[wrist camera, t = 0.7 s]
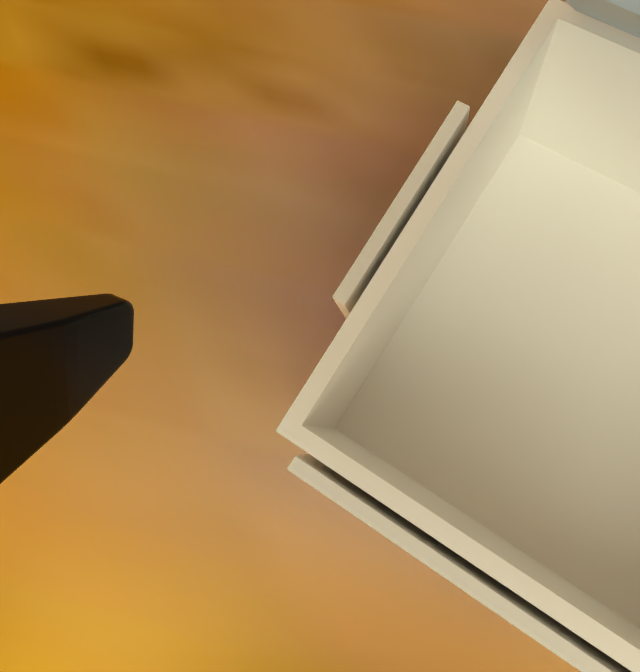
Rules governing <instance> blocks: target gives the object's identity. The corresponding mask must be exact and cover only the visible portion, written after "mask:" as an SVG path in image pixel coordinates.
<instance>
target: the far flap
mask: <svg viewBox="0 0 640 672" xmlns="http://www.w3.org/2000/svg"><path fill="white" fill-rule="evenodd" d="M565 1H566V2H567V3H568V4H569V5H570V6H571V7H572V8H573V9H574V10H575V11H578V12H580V13H582V14H585V15H587V16H589V17H592V18H594V19H596V20H599V21H601V22H603V23H606V24H608V25H610V26H613V27H615V28H617V29H620V30H622V31H624V32H627V33H629V34H631V35H634V36H636V37H638V38H640V0H565Z"/></svg>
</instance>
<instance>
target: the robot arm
mask: <svg viewBox="0 0 640 672" xmlns="http://www.w3.org/2000/svg"><path fill="white" fill-rule="evenodd" d="M133 323H134V309H133V306H132V304H131V303H130V302H129V301H127V300H124V299H122V298H120V297H117V296H115V295H112V294H98V295H88V296H78V297H68V298H58V299H47V300H37V301H27V302H17V303H7V304H0V484H1V483H2V482H3V481H4V480H5V479H6V478H7V477H8V476H10V475H11V474H12V473H13V472H14V471H15V470H16V469H17V468H19V467H20V466H21V465H22V464H23V463H24V462H25V461H26V460H28V459H29V458H30V457H31V456H32V455H33V454H34V453H35V452H36V451H38V450H39V449H40V448H41V447H42V446H43V445H44V444H45V443H47V442H48V441H49V440H50V439H51V438H52V437H53V436H54V435H55V434H57V433H58V432H59V431H60V430H61V429H62V428H63V427H64V426H65V425H66V424H67V423H68V422H69V421H70V420H71V419H72V418H73V417H74V416H75V415H76V414H77V413H78V412H79V411H80V410H81V409H82V408H83V407H84V406H85V404H86V403H87V402H88V401H89V400H90V399H91V398H92V397H93V396H94V395H95V393H96V392H97V391H98V390H99V389H100V388H101V387H102V386H103V385H104V384H105V382H106V381H107V380H108V379H109V378H110V377H111V376H112V375H113V374H114V373H115V371H116V370H117V369H118V368H119V367H120V366H121V365H122V364H123V363H124V362H125V361H126V359H127V358H128V356H129V355H130V353H131V350H132V346H133Z"/></svg>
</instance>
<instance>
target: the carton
mask: <svg viewBox="0 0 640 672" xmlns="http://www.w3.org/2000/svg"><path fill="white" fill-rule="evenodd" d="M469 112H470V106H468V105H466V104H464V103H462V102H460V101H458V100H457V102H456V103H455V105H454V106H453V108H452V109H451V111H450V113H449V114H448V116H447V117H446V119H445V120H444V122H443V124H442V125H441V127H440V128H439V130H438V131H437V133H436V135H435V136H434V138H433V139H432V141H431V142H430V144H429V146H428V147H427V149H426V150H425V152H424V153H423V155H422V157H421V158H420V160H419V161H418V163H417V164H416V166H415V168H414V169H413V171H412V172H411V174H410V175H409V177H408V179H407V180H406V182H405V183H404V185H403V186H402V188H401V190H400V191H399V193H398V194H397V196H396V197H395V199H394V201H393V202H392V204H391V205H390V207H389V208H388V210H387V212H386V213H385V215H384V216H383V218H382V219H381V221H380V223H379V224H378V226H377V227H376V229H375V230H374V232H373V234H372V235H371V237H370V238H369V240H368V241H367V243H366V245H365V246H364V248H363V249H362V251H361V252H360V254H359V256H358V257H357V259H356V260H355V262H354V263H353V265H352V267H351V268H350V270H349V271H348V273H347V274H346V276H345V278H344V279H343V281H342V282H341V284H340V285H339V287H338V289H337V290H336V292H335V293H334V295H333V296H332V298H333V299H334V301H335V302H336V304H337V306H338V307H339V309H340V310H341V312H342V313H343V315H344V317H345V318H346V320H345V322H344V323H343V325H342V327H341V328H340V330H339V331H338V333H337V334H336V336H335V338H334V339H333V341H332V342H331V344H330V346H329V347H328V349H327V350H326V352H325V353H324V355H323V357H322V358H321V360H320V361H319V363H318V364H317V366H316V368H315V369H314V371H313V372H312V374H311V375H310V377H309V379H308V380H307V382H306V383H305V385H304V387H303V388H302V390H301V391H300V393H299V394H298V396H297V398H296V399H295V401H294V402H293V404H292V405H291V407H290V409H289V410H288V412H287V413H286V415H285V416H284V418H283V420H282V421H281V423H280V424H279V426H278V428H277V429H276V432H277V433H279V434H280V435H282V436H283V437H285V438H286V439H288V440H289V441H291V442H292V443H294V444H295V445H297V446H298V447H300V448H301V449H303V450H304V451H306V452H307V453H309V454H305V455H299V456H295V457H294V459H293V460H292V462H291V464H290V465H289V467H288V468H287V470H289V471H290V472H291V473H293V474H294V475H296V476H297V477H299V478H300V479H302V480H303V481H305V482H306V483H307V484H309V485H310V486H312V487H313V488H315V489H316V490H318V491H319V492H321V493H322V494H323V495H325V496H326V497H328V498H329V499H331V500H332V501H334V502H335V503H336V504H338V505H339V506H341V507H342V508H344V509H345V510H347V511H348V512H350V513H351V514H352V515H354V516H355V517H357V518H358V519H360V520H361V521H363V522H364V523H366V524H367V525H368V526H370V527H371V528H373V529H374V530H376V531H377V532H379V533H380V534H382V535H383V536H384V537H386V538H387V539H389V540H390V541H392V542H393V543H395V544H396V545H398V546H399V547H400V548H402V549H403V550H405V551H406V552H408V553H409V554H411V555H412V556H413V557H415V558H416V559H418V560H419V561H421V562H422V563H424V564H425V565H427V566H428V567H429V568H431V569H432V570H434V571H435V572H437V573H438V574H440V575H441V576H443V577H444V578H445V579H447V580H448V581H450V582H451V583H453V584H454V585H456V586H457V587H459V588H460V589H461V590H463V591H464V592H466V593H467V594H469V595H470V596H472V597H473V598H474V599H476V600H477V601H479V602H480V603H482V604H483V605H485V606H486V607H488V608H489V609H490V610H492V611H493V612H495V613H496V614H498V615H499V616H501V617H502V618H504V619H505V620H506V621H508V622H509V623H511V624H512V625H514V626H515V627H517V628H518V629H520V630H521V631H522V632H524V633H525V634H527V635H528V636H530V637H531V638H533V639H534V640H536V641H537V642H538V643H540V644H541V645H543V646H544V647H546V648H547V649H549V650H550V651H551V652H553V653H554V654H556V655H557V656H559V657H560V658H562V659H563V660H565V661H566V662H567V663H569V664H570V665H572V666H573V667H575V668H576V669H578V670H579V671H581V672H640V38H638V37H636V36H634V35H631V34H629V33H627V32H624V31H622V30H620V29H617V28H615V27H613V26H610V25H608V24H606V23H603V22H601V21H599V20H596V19H594V18H592V17H589V16H587V15H585V14H582V13H580V12H578V11H575V10H574V9H573V8H572V7H571V6H570V5H569V4H568V3H566V2H563V1H561V0H548V2H547V3H546V5H545V6H544V8H543V10H542V11H541V13H540V14H539V16H538V17H537V19H536V21H535V22H534V24H533V25H532V27H531V28H530V30H529V32H528V33H527V35H526V36H525V38H524V40H523V41H522V43H521V44H520V46H519V47H518V49H517V51H516V52H515V54H514V55H513V57H512V58H511V60H510V62H509V63H508V65H507V66H506V68H505V69H504V71H503V73H502V74H501V76H500V77H499V79H498V81H497V82H496V84H495V85H494V87H493V88H492V90H491V92H490V93H489V95H488V96H487V98H486V99H485V101H484V103H483V104H482V106H481V107H480V109H479V111H478V112H477V114H476V115H475V117H474V118H473V120H472V122H471V123H470V125H469V126H468V128H467V125H468V118H469Z"/></svg>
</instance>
